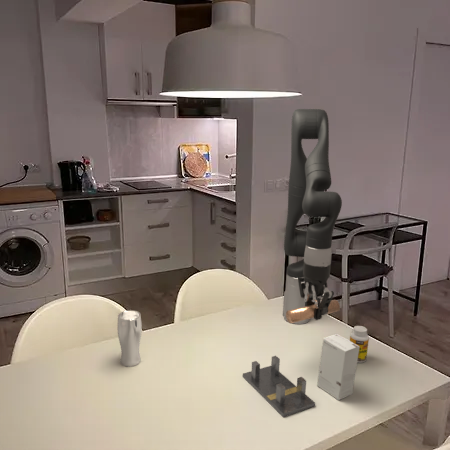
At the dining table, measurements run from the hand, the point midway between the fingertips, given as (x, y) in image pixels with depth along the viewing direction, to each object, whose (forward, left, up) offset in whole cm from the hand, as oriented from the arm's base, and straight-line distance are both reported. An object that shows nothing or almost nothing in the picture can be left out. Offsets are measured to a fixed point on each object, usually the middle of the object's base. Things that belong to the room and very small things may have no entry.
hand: (313, 316), depth 136 cm
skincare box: (+14, -2, -16) cm, 21 cm away
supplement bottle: (+4, +15, -16) cm, 22 cm away
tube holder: (+7, -17, -16) cm, 24 cm away
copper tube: (0, 0, 0) cm, 0 cm away
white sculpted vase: (-25, -48, -16) cm, 56 cm away
